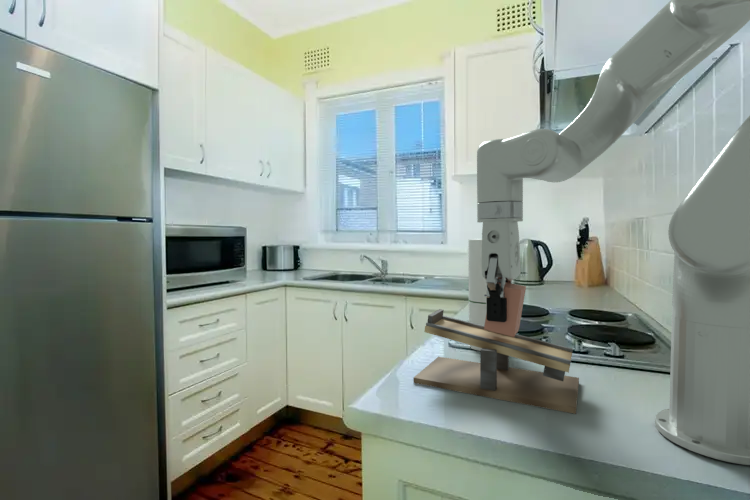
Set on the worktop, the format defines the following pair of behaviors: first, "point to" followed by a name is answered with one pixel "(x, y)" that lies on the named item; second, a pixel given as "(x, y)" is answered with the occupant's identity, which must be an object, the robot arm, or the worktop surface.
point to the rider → (509, 311)
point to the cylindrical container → (476, 286)
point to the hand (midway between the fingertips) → (500, 316)
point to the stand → (501, 381)
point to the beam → (503, 343)
